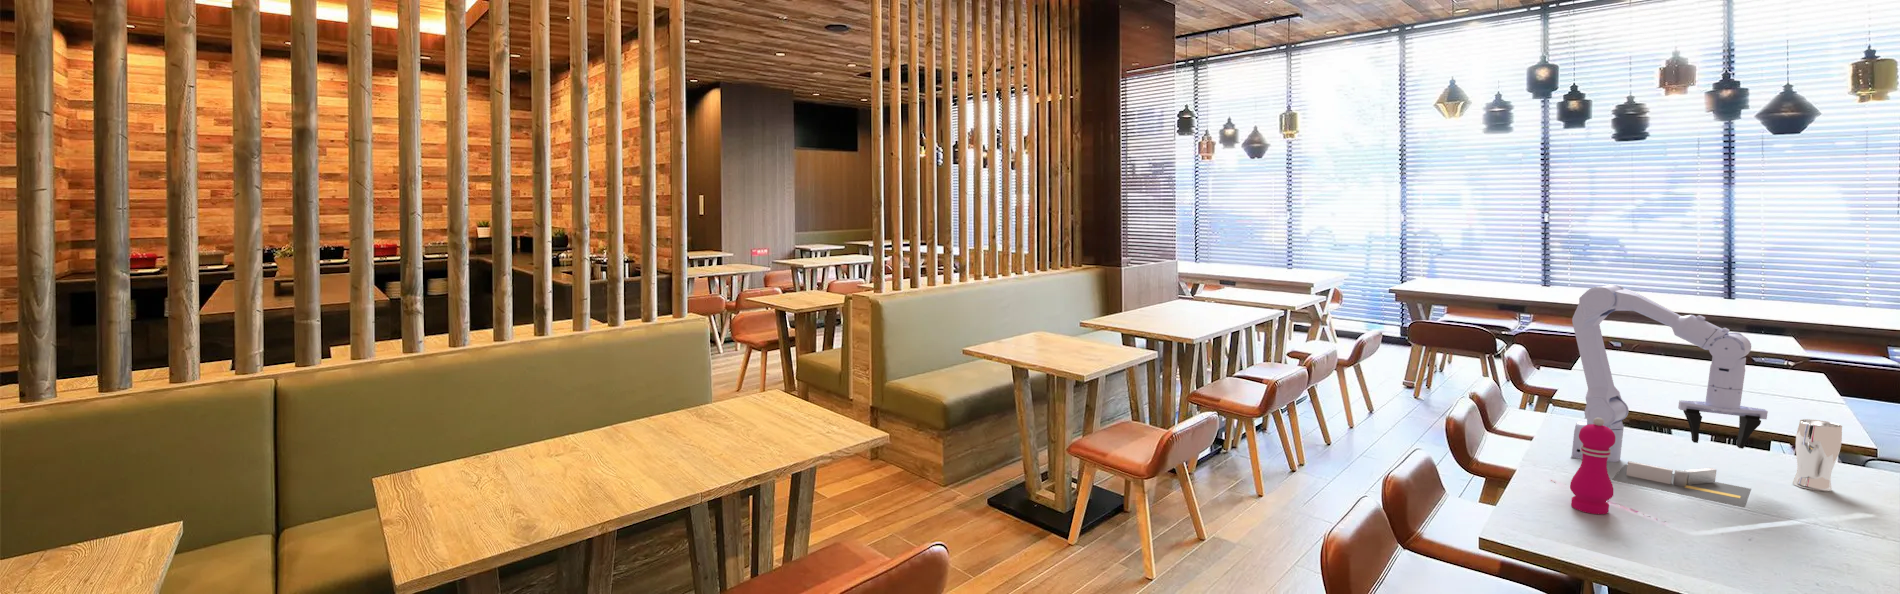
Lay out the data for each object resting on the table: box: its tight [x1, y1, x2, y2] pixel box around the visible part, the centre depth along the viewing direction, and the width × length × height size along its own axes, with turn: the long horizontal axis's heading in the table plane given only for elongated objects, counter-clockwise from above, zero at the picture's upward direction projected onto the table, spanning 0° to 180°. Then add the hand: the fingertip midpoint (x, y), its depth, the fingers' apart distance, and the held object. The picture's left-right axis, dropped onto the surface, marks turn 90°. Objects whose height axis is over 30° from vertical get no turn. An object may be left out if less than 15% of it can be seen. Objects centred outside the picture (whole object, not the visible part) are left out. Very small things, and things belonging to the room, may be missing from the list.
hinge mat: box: [1611, 460, 1752, 508], centre depth 182 cm, size 22×16×4 cm
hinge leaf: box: [1683, 467, 1717, 485], centre depth 183 cm, size 8×1×3 cm, turn 102°
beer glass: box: [1792, 418, 1843, 492], centre depth 182 cm, size 7×7×15 cm
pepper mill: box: [1569, 418, 1615, 515], centre depth 169 cm, size 7×7×20 cm
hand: (1717, 444), depth 183 cm, fingers open, 7 cm apart
